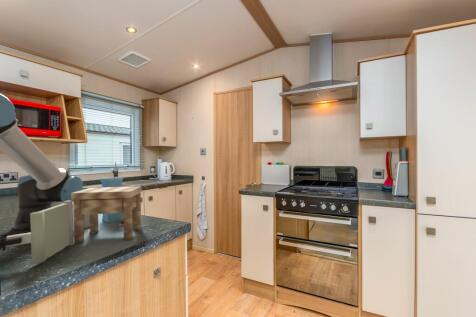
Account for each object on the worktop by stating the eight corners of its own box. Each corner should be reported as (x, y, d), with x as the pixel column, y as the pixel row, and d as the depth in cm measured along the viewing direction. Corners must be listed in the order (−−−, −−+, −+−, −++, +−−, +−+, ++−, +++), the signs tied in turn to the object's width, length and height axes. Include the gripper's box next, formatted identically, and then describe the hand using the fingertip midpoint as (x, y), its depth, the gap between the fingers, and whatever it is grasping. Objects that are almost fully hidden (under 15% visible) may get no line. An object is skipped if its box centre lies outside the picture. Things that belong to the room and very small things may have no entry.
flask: (84, 230, 98) (83, 206, 98) (70, 229, 100) (69, 205, 99) (97, 224, 105) (97, 202, 105) (84, 224, 107) (83, 202, 107)
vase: (100, 220, 113) (99, 179, 113) (117, 216, 119) (116, 177, 119) (108, 222, 108) (107, 179, 108) (124, 218, 115) (124, 178, 114)
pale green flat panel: (66, 243, 82) (65, 200, 82) (75, 242, 82) (74, 200, 82) (28, 266, 65) (27, 212, 65) (40, 265, 65) (39, 212, 65)
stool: (72, 243, 83) (71, 193, 83) (92, 230, 97) (91, 187, 97) (131, 240, 85) (130, 191, 85) (142, 228, 99) (141, 186, 99)
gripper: (-80, 263, 60) (39, 242, 75) (-110, 285, 50) (35, 256, 64) (-81, 235, 60) (38, 219, 75) (-111, 251, 50) (34, 229, 64)
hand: (37, 236), depth 69 cm, fingers closed
